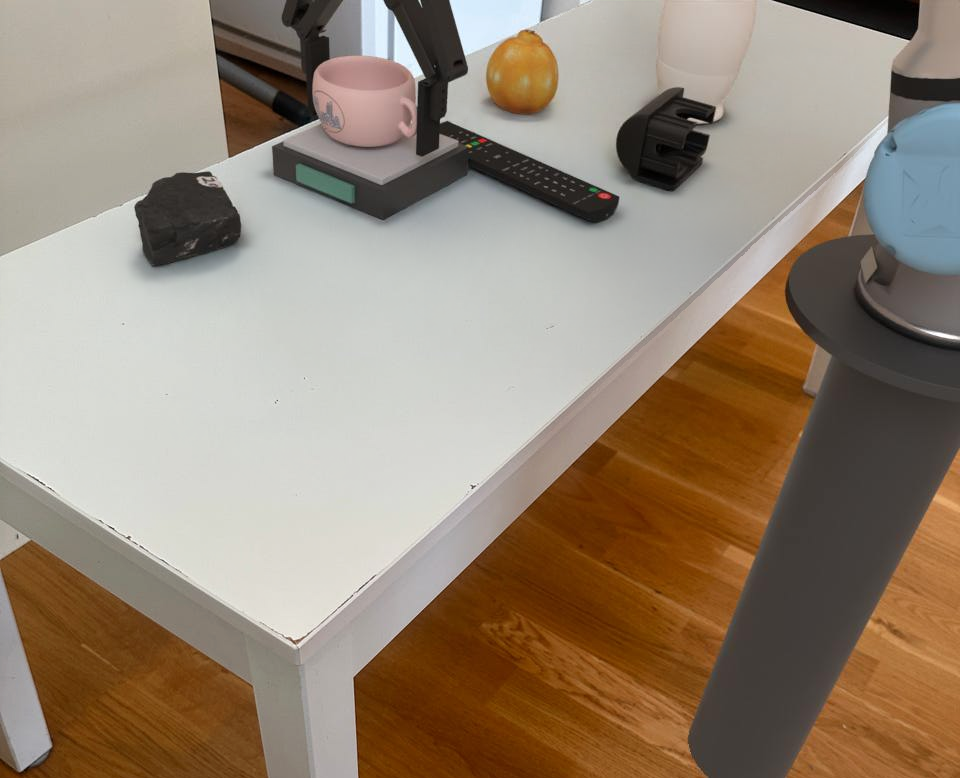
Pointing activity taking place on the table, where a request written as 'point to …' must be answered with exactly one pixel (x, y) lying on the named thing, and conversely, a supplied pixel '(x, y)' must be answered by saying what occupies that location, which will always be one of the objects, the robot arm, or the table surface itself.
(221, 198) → the rock
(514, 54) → the fruit
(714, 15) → the jar
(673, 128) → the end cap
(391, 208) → the scale
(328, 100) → the mug
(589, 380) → the table surface
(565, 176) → the remote control
